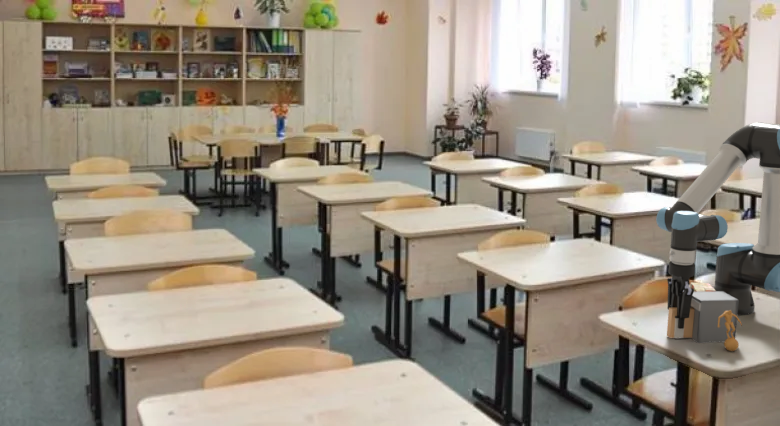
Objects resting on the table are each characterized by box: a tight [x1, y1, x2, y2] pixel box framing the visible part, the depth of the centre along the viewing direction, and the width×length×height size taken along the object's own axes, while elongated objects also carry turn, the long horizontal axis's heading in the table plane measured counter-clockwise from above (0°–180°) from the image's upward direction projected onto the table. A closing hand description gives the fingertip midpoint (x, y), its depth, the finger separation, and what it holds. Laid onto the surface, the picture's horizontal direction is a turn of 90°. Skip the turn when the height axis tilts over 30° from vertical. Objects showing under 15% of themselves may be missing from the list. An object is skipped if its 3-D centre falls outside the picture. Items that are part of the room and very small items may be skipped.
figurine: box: [718, 310, 743, 352], centre depth 250 cm, size 8×6×12 cm
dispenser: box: [691, 291, 739, 344], centre depth 262 cm, size 12×10×13 cm
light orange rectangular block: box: [666, 307, 695, 339], centre depth 261 cm, size 14×2×9 cm, turn 96°
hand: (676, 335), depth 262 cm, fingers closed on light orange rectangular block, 2 cm apart
